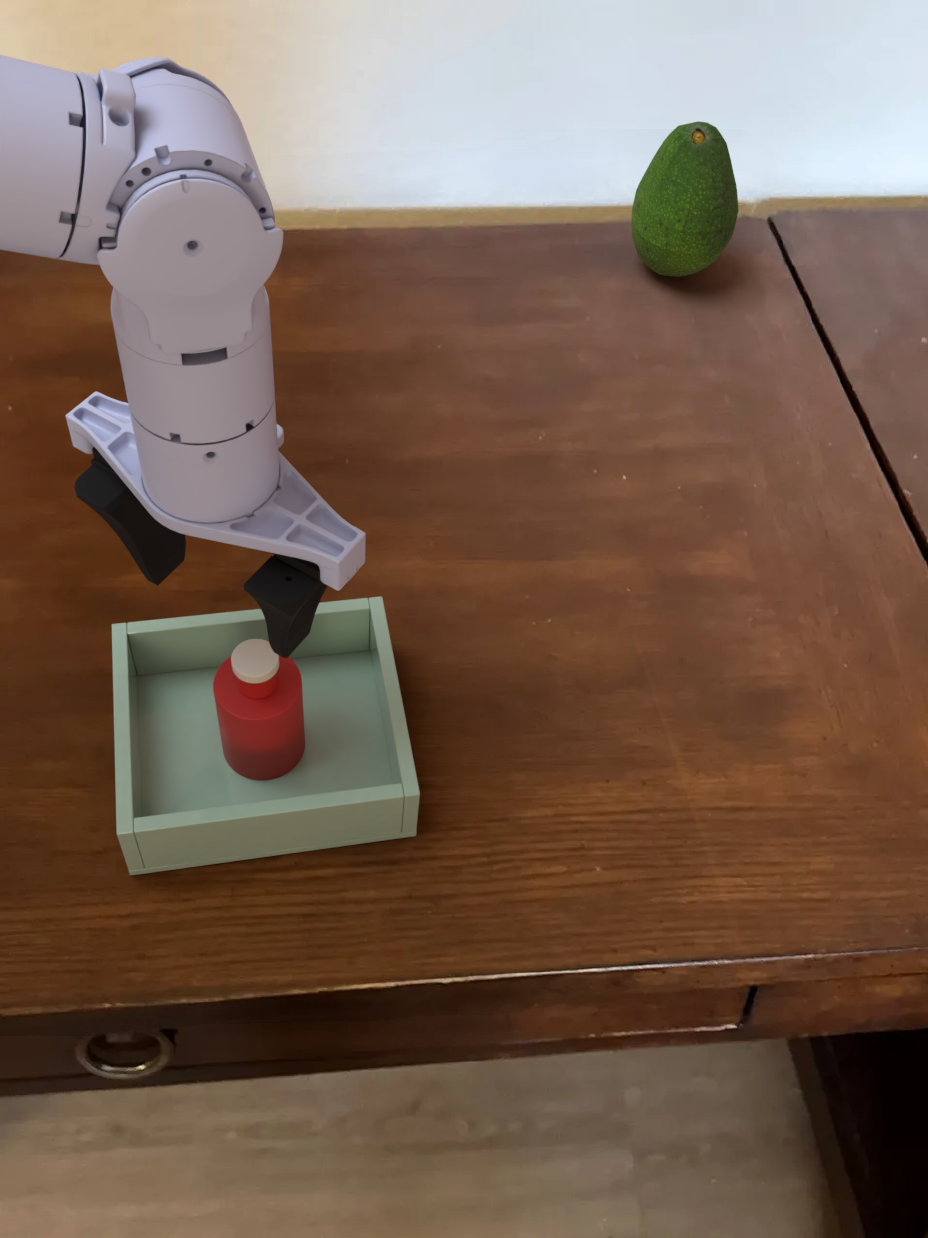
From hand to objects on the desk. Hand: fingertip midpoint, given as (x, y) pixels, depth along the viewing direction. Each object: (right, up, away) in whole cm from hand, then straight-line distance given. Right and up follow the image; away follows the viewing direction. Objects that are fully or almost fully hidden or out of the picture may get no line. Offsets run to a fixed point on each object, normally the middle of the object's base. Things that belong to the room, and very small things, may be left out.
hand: (228, 605), depth 59 cm
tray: (+1, -8, +7) cm, 11 cm away
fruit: (+28, +27, +36) cm, 53 cm away
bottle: (+1, -7, +7) cm, 10 cm away
